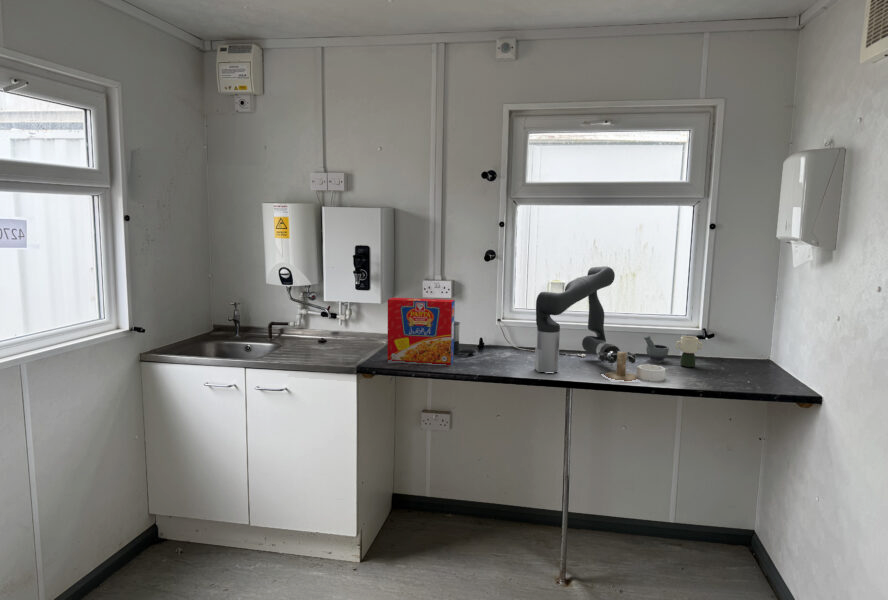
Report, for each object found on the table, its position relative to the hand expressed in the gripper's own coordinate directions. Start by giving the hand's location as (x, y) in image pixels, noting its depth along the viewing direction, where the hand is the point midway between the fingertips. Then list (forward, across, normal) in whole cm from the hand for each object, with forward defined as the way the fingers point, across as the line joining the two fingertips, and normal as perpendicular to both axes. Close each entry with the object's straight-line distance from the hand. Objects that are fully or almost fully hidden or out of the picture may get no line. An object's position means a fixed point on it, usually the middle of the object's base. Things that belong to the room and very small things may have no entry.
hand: (623, 360), depth 223 cm
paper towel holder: (-2, 0, +7) cm, 7 cm away
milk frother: (-48, -61, +8) cm, 78 cm away
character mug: (-20, +38, +8) cm, 44 cm away
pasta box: (-31, -79, +8) cm, 85 cm away
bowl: (-1, +12, +8) cm, 14 cm away
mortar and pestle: (-30, +28, +8) cm, 42 cm away
